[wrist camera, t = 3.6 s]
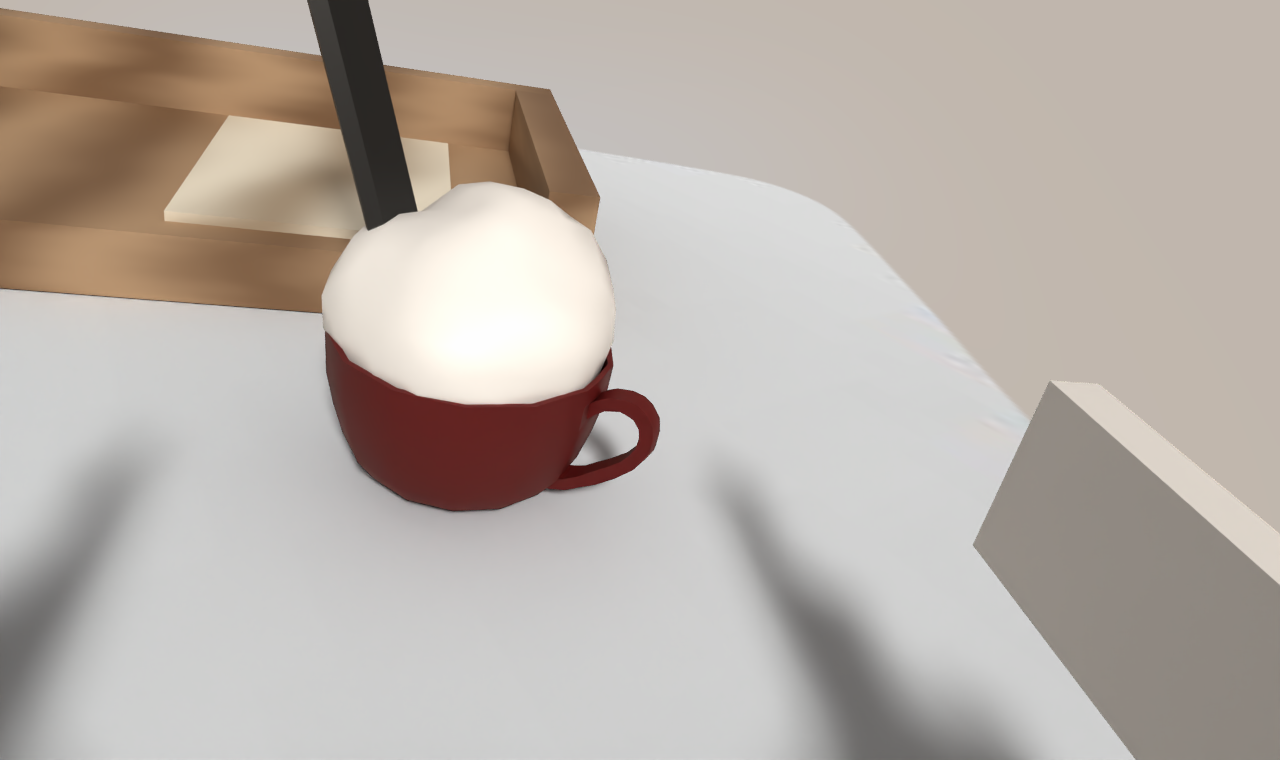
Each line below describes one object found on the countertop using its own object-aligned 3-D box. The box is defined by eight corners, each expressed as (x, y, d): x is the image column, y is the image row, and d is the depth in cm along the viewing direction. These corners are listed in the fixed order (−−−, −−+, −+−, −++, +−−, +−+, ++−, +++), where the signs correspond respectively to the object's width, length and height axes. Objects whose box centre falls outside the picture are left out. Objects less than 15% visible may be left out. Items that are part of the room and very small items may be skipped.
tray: (-699, 233, 21) (-813, 31, 19) (-315, 93, 32) (-359, -45, 30) (576, 332, 29) (600, 197, 27) (535, 193, 40) (549, 89, 38)
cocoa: (663, 526, 22) (836, 7, 16) (448, 631, 17) (583, -35, 12) (434, 340, 27) (505, -108, 21) (221, 384, 22) (238, -169, 17)
